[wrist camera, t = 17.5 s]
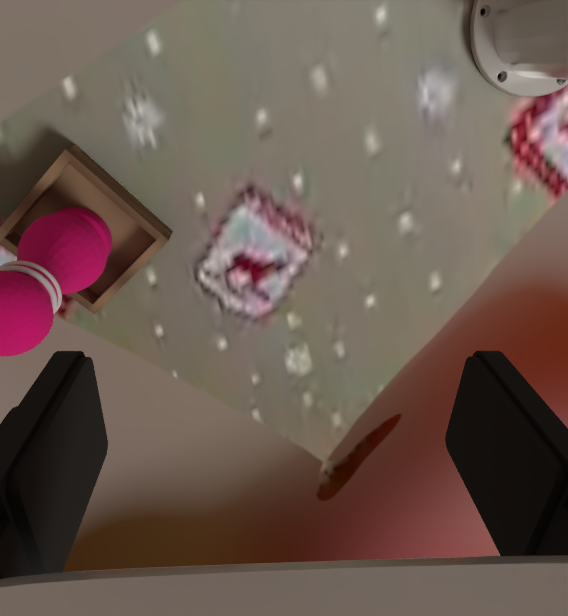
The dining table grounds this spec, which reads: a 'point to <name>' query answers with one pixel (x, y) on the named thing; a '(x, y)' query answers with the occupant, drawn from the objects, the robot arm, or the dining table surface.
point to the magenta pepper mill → (49, 273)
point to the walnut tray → (102, 201)
